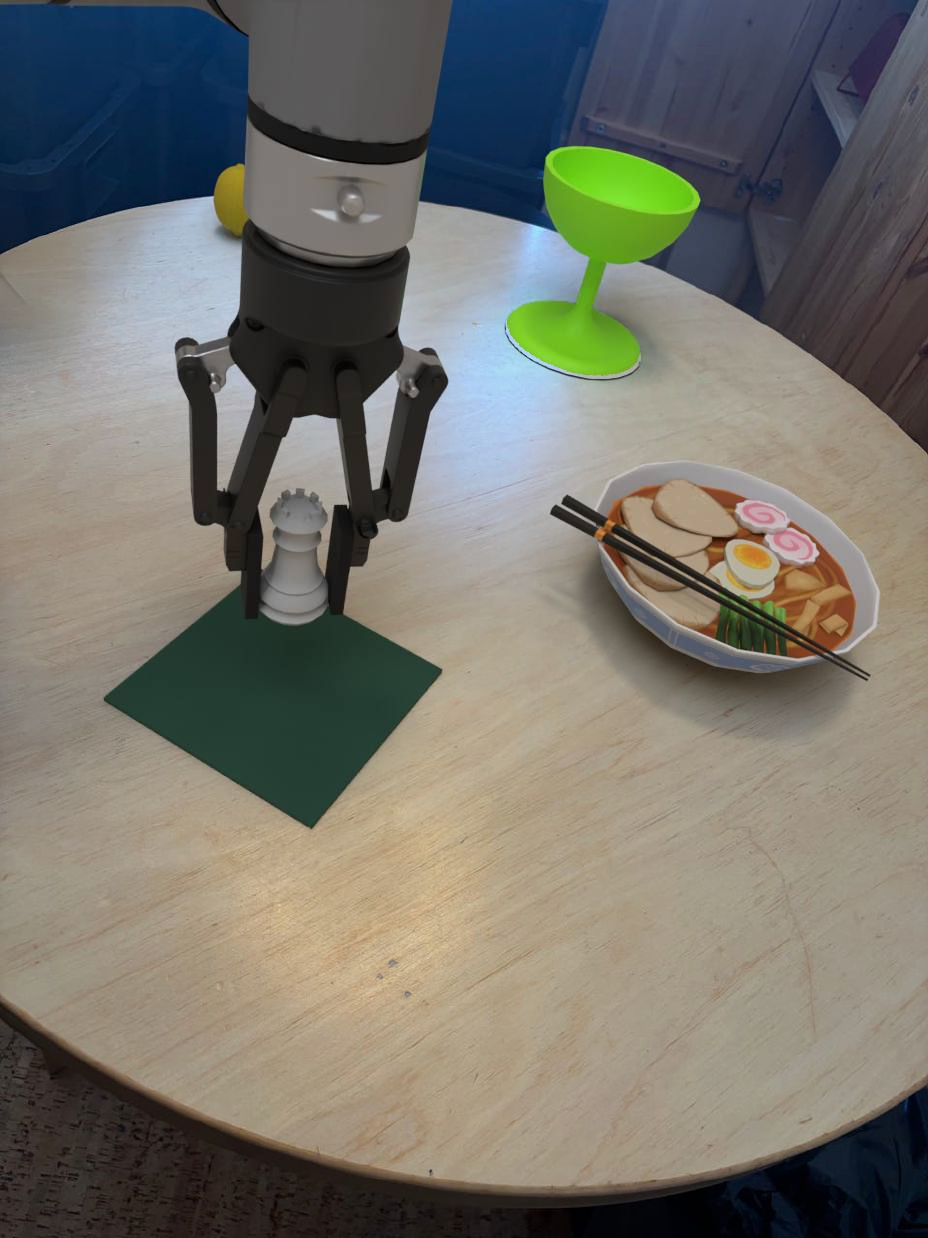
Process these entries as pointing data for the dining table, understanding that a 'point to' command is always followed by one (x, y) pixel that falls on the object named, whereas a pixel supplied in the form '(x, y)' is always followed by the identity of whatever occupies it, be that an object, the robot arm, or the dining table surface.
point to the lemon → (231, 199)
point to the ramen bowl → (730, 566)
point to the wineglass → (601, 250)
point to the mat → (277, 700)
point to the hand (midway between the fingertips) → (291, 600)
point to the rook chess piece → (295, 561)
